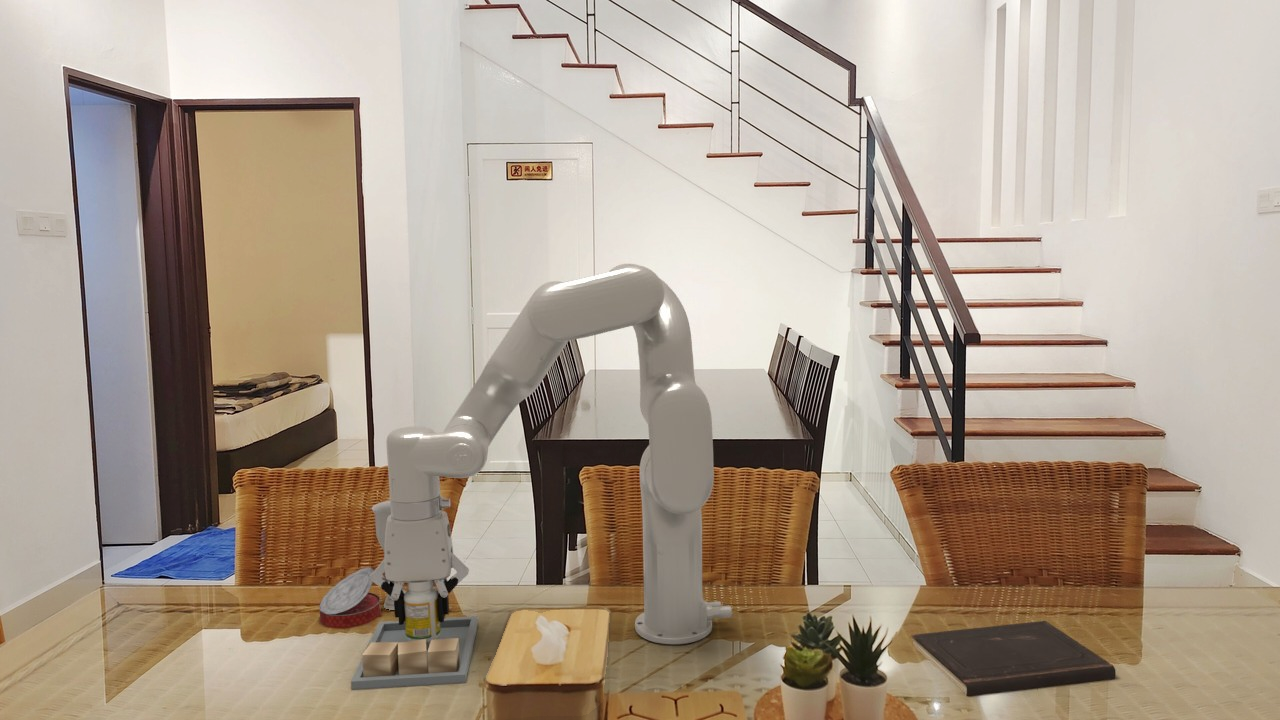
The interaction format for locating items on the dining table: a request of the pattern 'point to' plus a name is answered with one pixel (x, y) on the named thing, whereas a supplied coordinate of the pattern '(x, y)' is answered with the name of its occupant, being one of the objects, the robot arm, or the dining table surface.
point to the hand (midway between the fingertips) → (422, 618)
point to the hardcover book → (1011, 658)
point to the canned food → (350, 602)
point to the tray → (449, 629)
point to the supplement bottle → (421, 611)
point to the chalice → (383, 536)
